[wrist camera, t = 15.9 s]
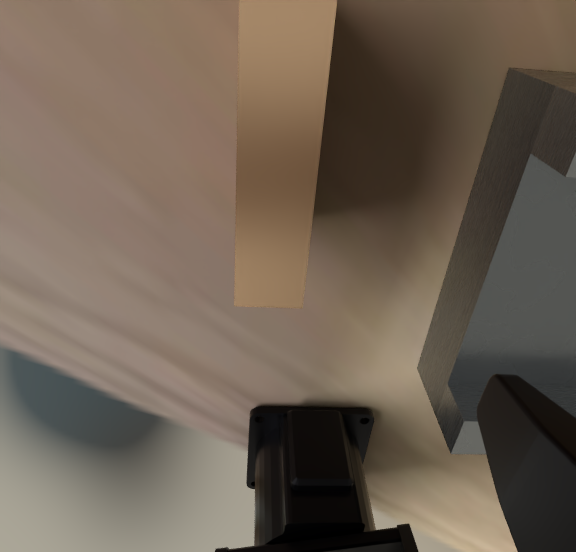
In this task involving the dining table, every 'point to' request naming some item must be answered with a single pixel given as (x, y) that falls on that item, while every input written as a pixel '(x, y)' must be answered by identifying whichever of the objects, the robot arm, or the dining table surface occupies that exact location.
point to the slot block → (511, 263)
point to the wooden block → (278, 144)
